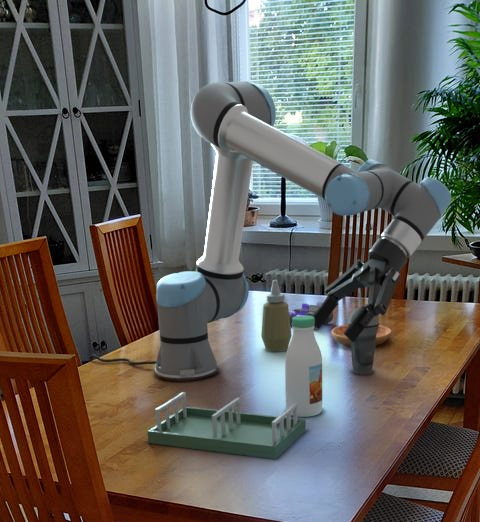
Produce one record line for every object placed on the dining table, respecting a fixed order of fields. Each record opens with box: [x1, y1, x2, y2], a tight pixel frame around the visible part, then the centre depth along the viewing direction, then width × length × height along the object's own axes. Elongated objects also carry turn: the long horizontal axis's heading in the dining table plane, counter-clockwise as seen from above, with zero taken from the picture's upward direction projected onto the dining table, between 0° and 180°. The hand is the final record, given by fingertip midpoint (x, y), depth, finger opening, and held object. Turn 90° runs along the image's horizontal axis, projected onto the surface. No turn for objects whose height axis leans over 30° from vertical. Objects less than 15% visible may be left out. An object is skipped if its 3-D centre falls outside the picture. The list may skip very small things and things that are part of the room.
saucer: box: [331, 323, 392, 347], centre depth 234 cm, size 16×16×3 cm
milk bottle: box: [284, 315, 323, 418], centre depth 180 cm, size 8×8×20 cm
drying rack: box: [147, 391, 307, 460], centre depth 171 cm, size 27×16×6 cm, turn 66°
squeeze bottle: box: [260, 279, 293, 352], centre depth 227 cm, size 8×8×18 cm
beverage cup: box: [347, 288, 380, 376], centre depth 204 cm, size 7×7×20 cm
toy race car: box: [289, 301, 334, 330], centre depth 254 cm, size 10×15×6 cm, turn 54°
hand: (330, 331), depth 179 cm, fingers open, 13 cm apart
